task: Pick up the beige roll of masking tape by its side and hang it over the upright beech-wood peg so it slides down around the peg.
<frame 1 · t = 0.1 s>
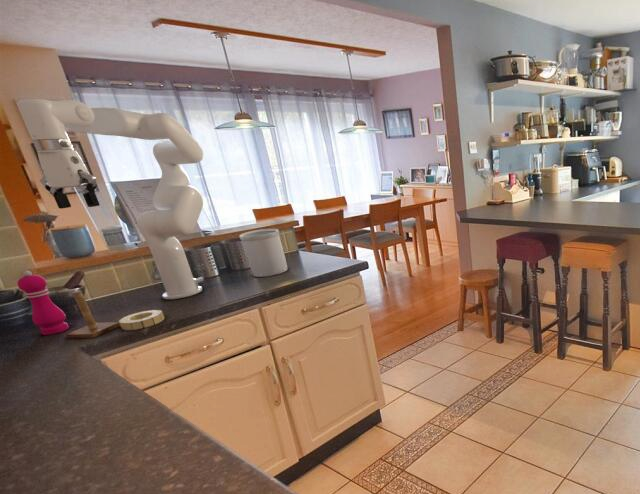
hand: (79, 207, 131), 37 cm above the worktop, tool pointing down, fingers open, 9 cm apart
tape: (143, 323, 140), on the worktop
wooden peg stand: (94, 331, 136), on the worktop
pepper mill: (56, 331, 138), on the worktop
utensil holder: (270, 272, 189), on the worktop
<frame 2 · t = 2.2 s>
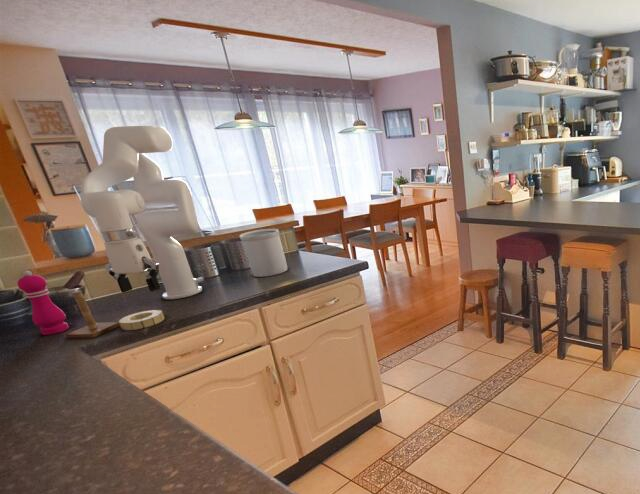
hand: (141, 290, 135), 11 cm above the worktop, tool pointing down, fingers open, 9 cm apart
nothing on the worktop moved.
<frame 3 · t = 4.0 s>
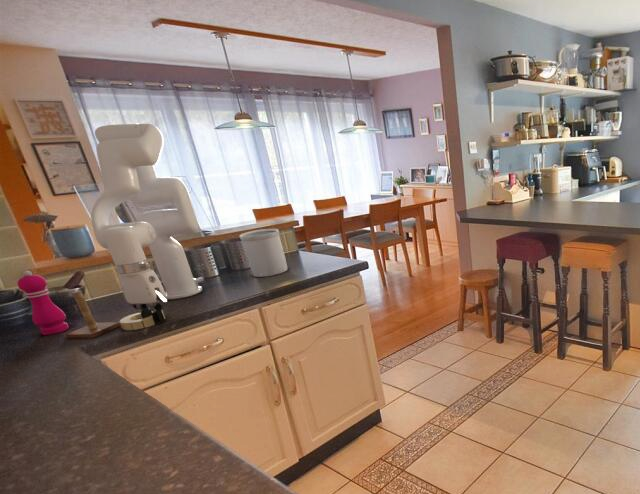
hand: (155, 322, 139), 0 cm above the worktop, tool pointing down, fingers closed on tape, 2 cm apart
tape: (144, 323, 140), on the worktop, touching gripper
everything else where it was.
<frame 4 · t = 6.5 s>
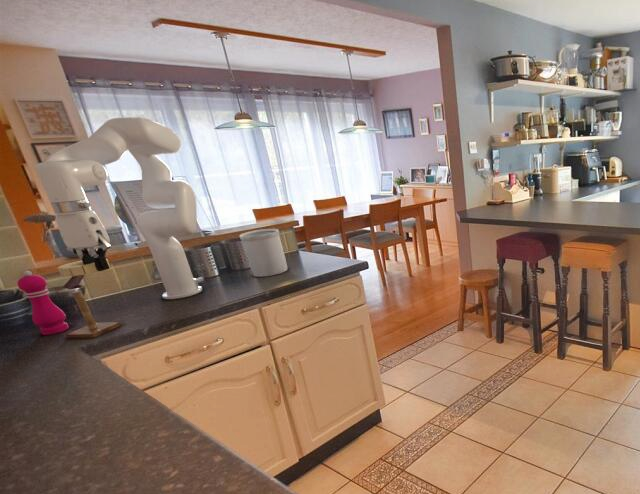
hand: (98, 269, 129), 19 cm above the worktop, tool pointing down, fingers closed on tape, 2 cm apart
tape: (86, 270, 130), point 19 cm above the worktop, touching gripper
everything else where it was.
when the fingers open (11 cm above the worktop, at t = 9.3 s): tape drops 10 cm, resting on wooden peg stand.
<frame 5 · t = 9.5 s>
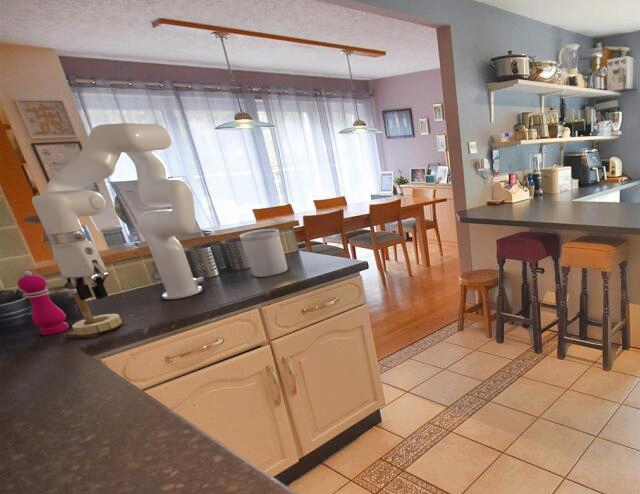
hand: (94, 297, 131), 11 cm above the worktop, tool pointing down, fingers open, 4 cm apart
tape: (99, 327, 135), point 1 cm above the worktop, touching wooden peg stand
everything else where it was.
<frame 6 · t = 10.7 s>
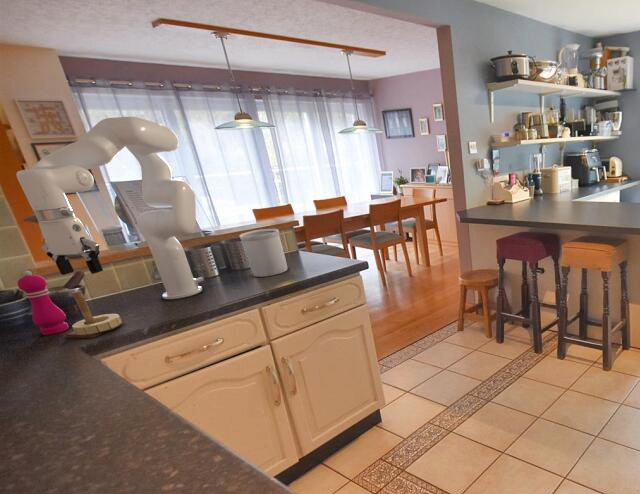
hand: (82, 272, 129), 19 cm above the worktop, tool pointing down, fingers open, 9 cm apart
nothing on the worktop moved.
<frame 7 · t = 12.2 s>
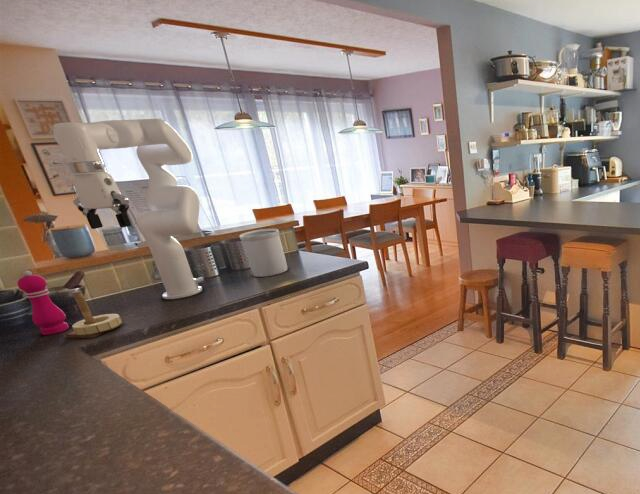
hand: (111, 227, 133), 30 cm above the worktop, tool pointing down, fingers open, 9 cm apart
nothing on the worktop moved.
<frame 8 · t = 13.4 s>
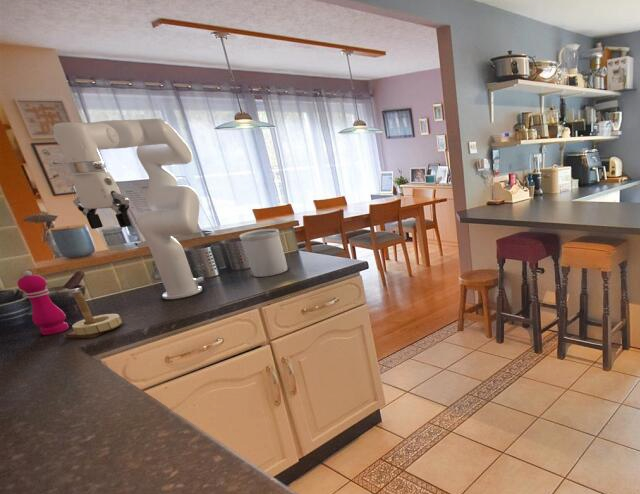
hand: (111, 227, 133), 30 cm above the worktop, tool pointing down, fingers open, 9 cm apart
nothing on the worktop moved.
at the end: tape 1.7 cm from the wooden peg stand (horizontally); tape point 1.2 cm above the worktop; the gripper is holding nothing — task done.
